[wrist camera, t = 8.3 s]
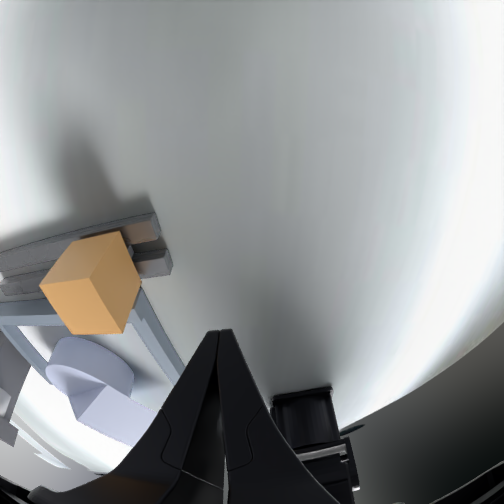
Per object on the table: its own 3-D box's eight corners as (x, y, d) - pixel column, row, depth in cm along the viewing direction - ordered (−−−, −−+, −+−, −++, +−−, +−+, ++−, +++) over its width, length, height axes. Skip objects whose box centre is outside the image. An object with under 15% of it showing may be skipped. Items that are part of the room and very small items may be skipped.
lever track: (154, 212, 14) (150, 220, 14) (173, 264, 16) (170, 274, 16) (-8, 255, 15) (-15, 262, 14) (10, 288, 17) (5, 295, 16)
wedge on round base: (179, 394, 26) (78, 325, 20) (174, 450, 20) (52, 389, 14) (131, 406, 28) (45, 349, 22) (123, 452, 23) (25, 399, 17)
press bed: (141, 288, 17) (91, 467, 7) (194, 381, 24) (187, 501, 14) (-28, 304, 19) (-70, 379, 8) (24, 369, 25) (-1, 440, 15)
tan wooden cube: (125, 222, 14) (89, 277, 10) (145, 271, 16) (122, 333, 12) (79, 233, 14) (38, 285, 10) (101, 278, 16) (72, 334, 12)
